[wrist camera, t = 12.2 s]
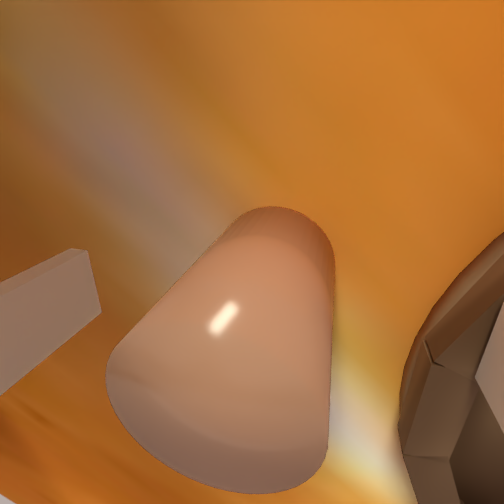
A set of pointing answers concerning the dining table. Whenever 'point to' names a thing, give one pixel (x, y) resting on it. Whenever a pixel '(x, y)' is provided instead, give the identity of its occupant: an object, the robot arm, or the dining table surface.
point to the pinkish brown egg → (237, 359)
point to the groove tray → (455, 392)
